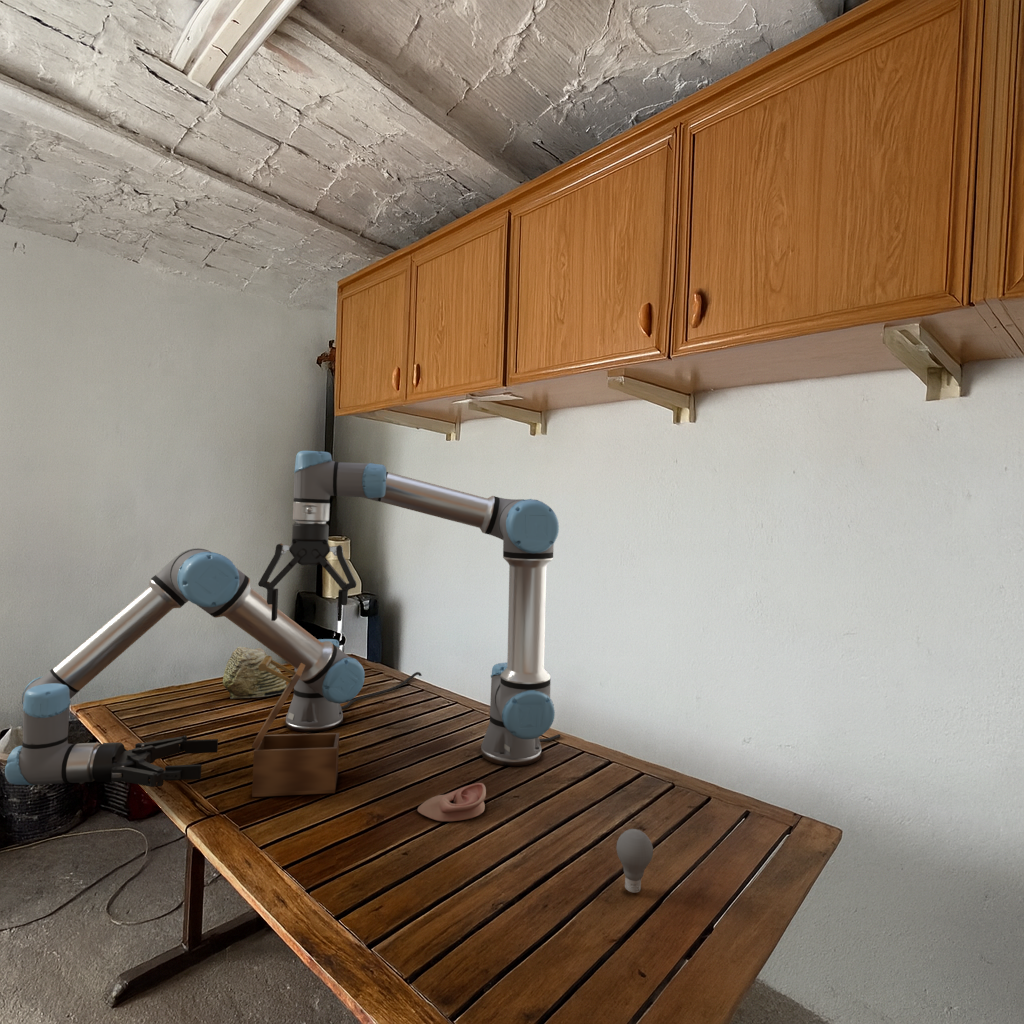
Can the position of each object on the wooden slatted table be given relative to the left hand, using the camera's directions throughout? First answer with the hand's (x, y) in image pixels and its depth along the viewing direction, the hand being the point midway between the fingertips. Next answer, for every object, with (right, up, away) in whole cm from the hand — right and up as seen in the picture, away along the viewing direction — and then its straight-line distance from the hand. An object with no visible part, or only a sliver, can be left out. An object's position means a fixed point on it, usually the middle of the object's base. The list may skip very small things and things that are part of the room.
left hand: (209, 758), depth 135 cm
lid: (+14, +10, +3) cm, 18 cm away
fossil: (-16, -5, +63) cm, 66 cm away
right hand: (+20, +29, +3) cm, 35 cm away
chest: (+17, -7, +4) cm, 19 cm away
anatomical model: (+52, -9, -4) cm, 53 cm away
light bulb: (+84, -11, -29) cm, 90 cm away
